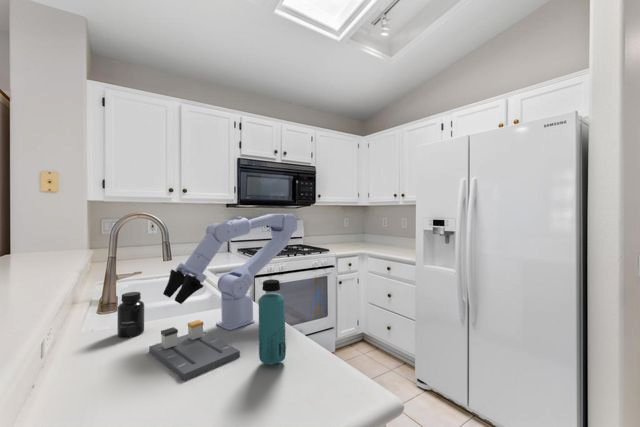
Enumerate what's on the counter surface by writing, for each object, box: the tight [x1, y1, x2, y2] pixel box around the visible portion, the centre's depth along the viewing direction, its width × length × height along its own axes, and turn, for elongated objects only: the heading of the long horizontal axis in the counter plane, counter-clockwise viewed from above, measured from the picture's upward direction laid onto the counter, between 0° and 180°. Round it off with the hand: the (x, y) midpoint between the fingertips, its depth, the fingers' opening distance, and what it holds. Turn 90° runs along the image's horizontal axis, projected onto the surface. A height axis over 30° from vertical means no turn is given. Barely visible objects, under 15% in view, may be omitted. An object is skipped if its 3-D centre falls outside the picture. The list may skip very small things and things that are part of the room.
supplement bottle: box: [116, 291, 145, 339], centre depth 90 cm, size 7×7×12 cm
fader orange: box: [187, 319, 204, 340], centre depth 83 cm, size 3×3×4 cm
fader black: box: [160, 327, 179, 349], centre depth 78 cm, size 3×3×4 cm
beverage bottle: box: [257, 279, 287, 365], centre depth 72 cm, size 6×7×20 cm
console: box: [148, 330, 241, 382], centre depth 77 cm, size 14×20×2 cm
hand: (171, 299), depth 83 cm, fingers open, 7 cm apart
